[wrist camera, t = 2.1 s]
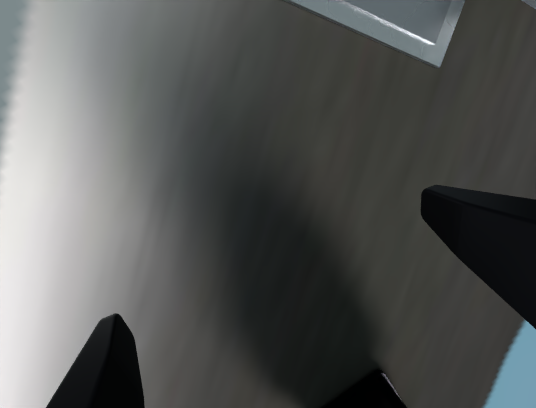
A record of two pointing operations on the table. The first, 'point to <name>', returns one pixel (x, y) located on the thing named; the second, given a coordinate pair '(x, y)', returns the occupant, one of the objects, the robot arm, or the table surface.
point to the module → (531, 3)
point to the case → (395, 23)
